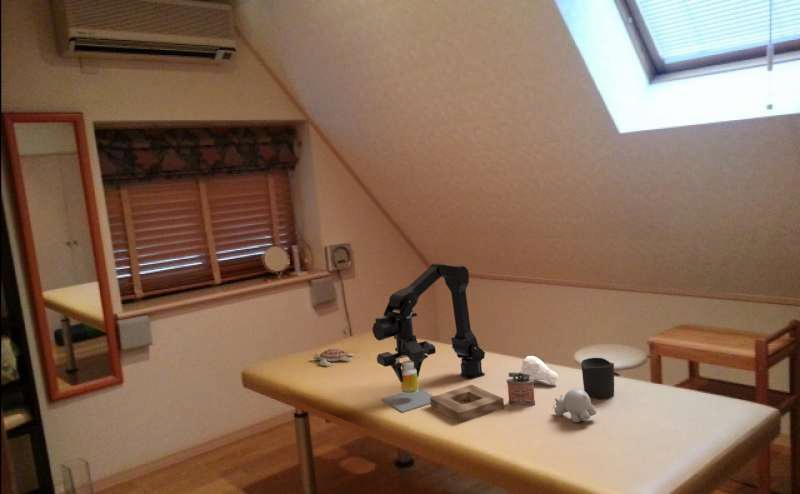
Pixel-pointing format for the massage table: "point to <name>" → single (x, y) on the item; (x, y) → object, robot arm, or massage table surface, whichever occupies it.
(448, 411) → the pocket block
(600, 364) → the pen holder
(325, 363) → the decorative turtle
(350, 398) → the massage table surface
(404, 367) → the supplement bottle
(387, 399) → the mat
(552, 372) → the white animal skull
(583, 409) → the round bodied animal figurine
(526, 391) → the lighter
